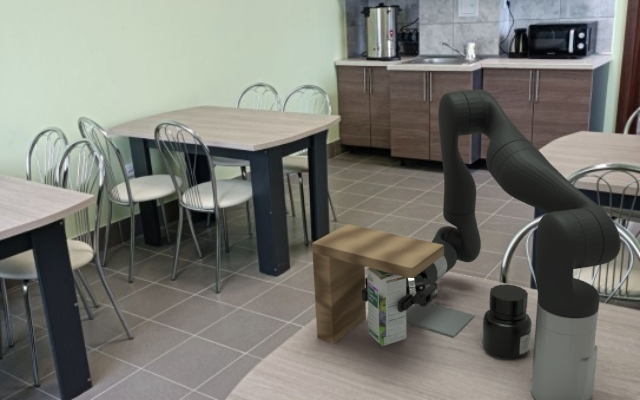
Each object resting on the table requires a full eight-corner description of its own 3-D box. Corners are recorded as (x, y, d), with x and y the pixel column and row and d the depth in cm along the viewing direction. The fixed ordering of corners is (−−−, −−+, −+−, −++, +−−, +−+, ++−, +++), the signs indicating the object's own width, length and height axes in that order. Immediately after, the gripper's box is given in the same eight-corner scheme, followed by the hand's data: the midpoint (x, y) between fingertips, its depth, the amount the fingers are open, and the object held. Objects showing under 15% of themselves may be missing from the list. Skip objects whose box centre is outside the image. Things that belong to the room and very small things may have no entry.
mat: (474, 316, 132) (474, 315, 132) (453, 337, 125) (453, 335, 125) (393, 293, 144) (393, 292, 144) (369, 311, 136) (369, 309, 136)
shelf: (442, 343, 123) (443, 245, 116) (412, 372, 114) (412, 268, 107) (350, 313, 136) (347, 223, 129) (317, 338, 127) (312, 243, 120)
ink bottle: (535, 362, 115) (539, 305, 111) (486, 362, 116) (488, 304, 112) (523, 335, 124) (527, 280, 121) (478, 334, 125) (480, 280, 122)
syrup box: (367, 333, 125) (365, 267, 120) (392, 325, 127) (391, 261, 122) (382, 347, 120) (379, 279, 115) (408, 338, 122) (407, 271, 117)
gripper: (393, 247, 134) (349, 276, 122) (454, 261, 126) (414, 293, 114) (393, 278, 137) (351, 309, 125) (453, 294, 128) (414, 329, 116)
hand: (381, 302), depth 119 cm, fingers closed on syrup box, 7 cm apart
